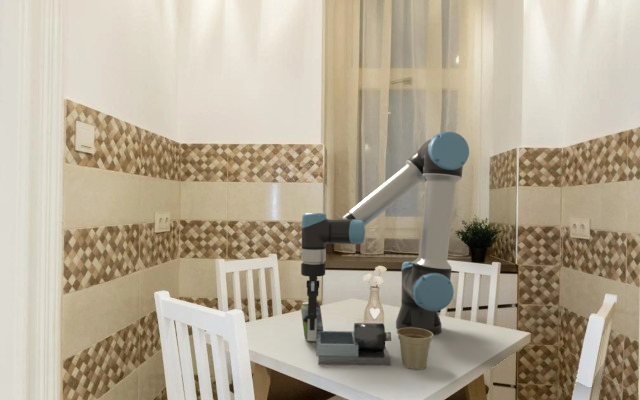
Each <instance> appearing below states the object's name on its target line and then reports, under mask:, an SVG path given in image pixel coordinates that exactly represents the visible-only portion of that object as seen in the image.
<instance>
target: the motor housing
mask: <svg viewBox="0 0 640 400" xmlns="http://www.w3.org/2000/svg"><path fill="white" fill-rule="evenodd" d="M385 329H386V328H385V324H384V323H377V322H375V323H373V322H361V323H360V322H354V323H353V330H350V331H349V330H348V331H347V330H345V331H344V330H323V331H317V341H316V357H318V358H317V359H318V360H317V361H318V364H317V365H321V366H322V365H324V366H325V365H328V366H332V365H333V366H336V365H337V366H340V365H341V366H391V365H392V359H391V355H390V353H389V351H388V349H387V346H386V342H392V333H391V332H390V331H386V330H385Z"/></svg>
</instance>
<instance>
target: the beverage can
mask: <svg viewBox="0 0 640 400" xmlns="http://www.w3.org/2000/svg"><path fill="white" fill-rule="evenodd" d="M318 301H319V300H317V306H316V315H317V331H324V324H323V318H322V310H321V309H322V308H321V304H320V303H319V302H318ZM300 312H301V318H302V319H301V320H302V328H303V334H304V339H305V340H306V341H307V331H308V319H306V316H308V300H306V301H303V302H302V304H301V307H300ZM315 342H317V339H316V341H315Z"/></svg>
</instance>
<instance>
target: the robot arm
mask: <svg viewBox="0 0 640 400" xmlns="http://www.w3.org/2000/svg"><path fill="white" fill-rule="evenodd" d="M469 157H470V146H469V144H468V141H467V140H466V139H465V138H464V137H463V136H462V135H461V134H459V133H457V132H453V131H443V132H439V133H437V134H434V136H432V137H431V138H430V139H428V140H427V141H425V142H424V143H423V144H422V145H421V146H420V147H419V149H417V151H415V153H414V154H412V156H410V157H409V158H408V159H407V160H406V161H405V165H404V166H403V167H402V168H400V169H399V170H398V171H397V172H395V173H394V174H392V175H391V177H389V178H388V179H387V180H385V181H384V182H383V183H382V184H380V186H378V187H377V188H376V189H375V190H373V191H372V192H371V193H370V194H369V195H366V197H365V198H363V199H362V200H361V201H360V202H358V203H357V204H356V205H355V206H353V207H352V208H351V209H350V210H349V211H347V212H345V214H343V215H342V216H341V217H340V218H338V219H329V218H327V215H326V213H325V212H305V213H304V214H302V217H301V218H302V219H301V251H299V255H301V264H300V265H301V266H300V273H301V275H302V276H304V277H308V279H307V280H306V288H307V289H306V296H307V297H308V300H307V301H308V316H306V319H308V331H307V340H306V341H307V342H317V341H316V339H317V315H316V306H317V301H318V296H319V288H320V280H318V277H323V276H325V275H326V264H325V262H326V261H327V258H326V255H327V254H326V252H327V250H326V249H327V248H326V247H327V246H326V245H327V244H328V245H329V244H343V245H349V244H350V245H360V244H364V242H365V237H366V235H365V234H366V233H365V232H366V228H365V227H366V226H368V224H370V223H372V221H374V220H375V219H376V218H378V217H379V216H380V215H381V214H383V213H384V212H385V211H386V210H387V209H389V207H391V206H392V205H394V204H395V203H396V202H397V201H399V199H401V198H403V197H404V196H405V195H406V194H407V193H409V192H410V191H411V190H412V189H414V188H415V187H416V186H418V185H419V184H420V183H422V184H423V183H426V188H425V194H424V195H425V196H424V204H423V213H422V215H423V216H422V221H421V222H422V223H421V233H420V240H419V242H420V243H419V248H418V250H419V251H418V256H417V258H416V259H414V260H413V261H404V262H403V263H402V264H401V270H400V271H401V304H400V305H401V306H400V309H399V312H398V314H397V318H396V321H395V328H396V329H397V330H398V329H401V328H407V327H408V328H409V327H411V328H412V327H413V328H421V329H425V330H428V331H430V332H432V333H433V336H435V335H438V334H440V333H442V327H443V326H442V322H441V318H440V314H439V311H441V310H443V309H445V308H447V307H448V306H449V305H450V304H451V302H452V300H453V298H454V294H455V292H454V291H455V290H454V286H453V283H452V281H451V275H452V266H451V264H450V263H449V262H448V257H449V247H450V237H451V231H452V230H451V229H452V228H451V227H452V221H453V212H454V211H453V210H454V203H455V193H456V192H455V191H456V186H457V183H458V182H459V181H461V180H462V177H463V170H464V169H463V168H464V165H465V164H466V163H467V161H468V159H469Z"/></svg>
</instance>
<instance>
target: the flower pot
mask: <svg viewBox="0 0 640 400" xmlns="http://www.w3.org/2000/svg"><path fill="white" fill-rule="evenodd" d="M396 334H397V335H398V336H397V337H398V339H399V347H400V356H401V364H402V365H403V367H405V368H407V369H413V370H417V371H418V370H419V371H420V370H424V369H425V368H426V367H427V365H428V363H427V362H428V357H429V351H430V346H431V344H430V343H431V342H432V338H433V337H434V335H433V333H432V332H430V331H428V330H425V329H421V328H413V327H412V328H411V327H409V328H408V327H407V328H401V329H397V330H396Z"/></svg>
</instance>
